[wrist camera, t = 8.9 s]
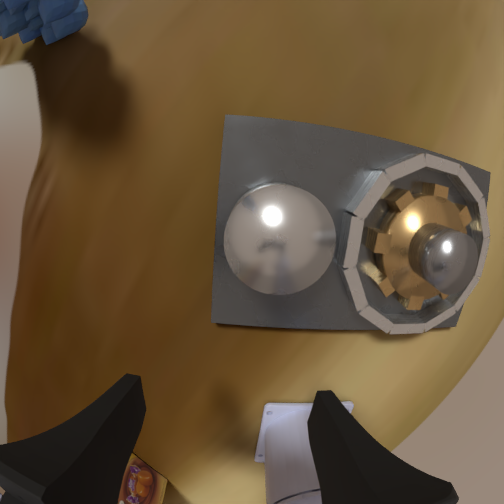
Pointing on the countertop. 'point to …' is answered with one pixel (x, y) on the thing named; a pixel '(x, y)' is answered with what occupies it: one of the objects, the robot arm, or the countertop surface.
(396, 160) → the gear carrier
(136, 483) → the candy box
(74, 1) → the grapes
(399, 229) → the planet gear
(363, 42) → the countertop surface
